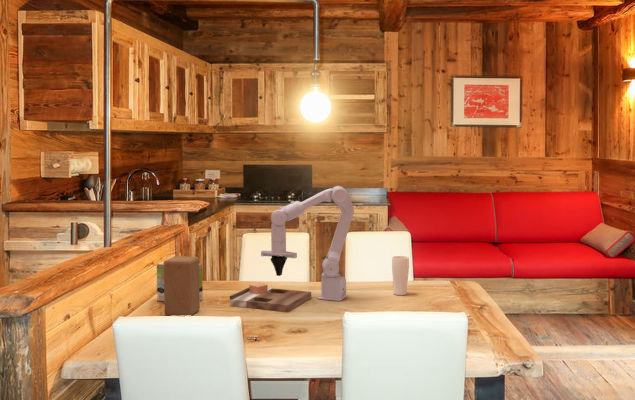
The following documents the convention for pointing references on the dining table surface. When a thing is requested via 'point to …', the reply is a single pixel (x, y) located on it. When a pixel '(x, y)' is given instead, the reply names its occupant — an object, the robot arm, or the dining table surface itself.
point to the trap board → (270, 299)
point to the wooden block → (181, 285)
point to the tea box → (161, 282)
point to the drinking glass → (400, 274)
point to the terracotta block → (258, 288)
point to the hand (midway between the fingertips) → (279, 275)
